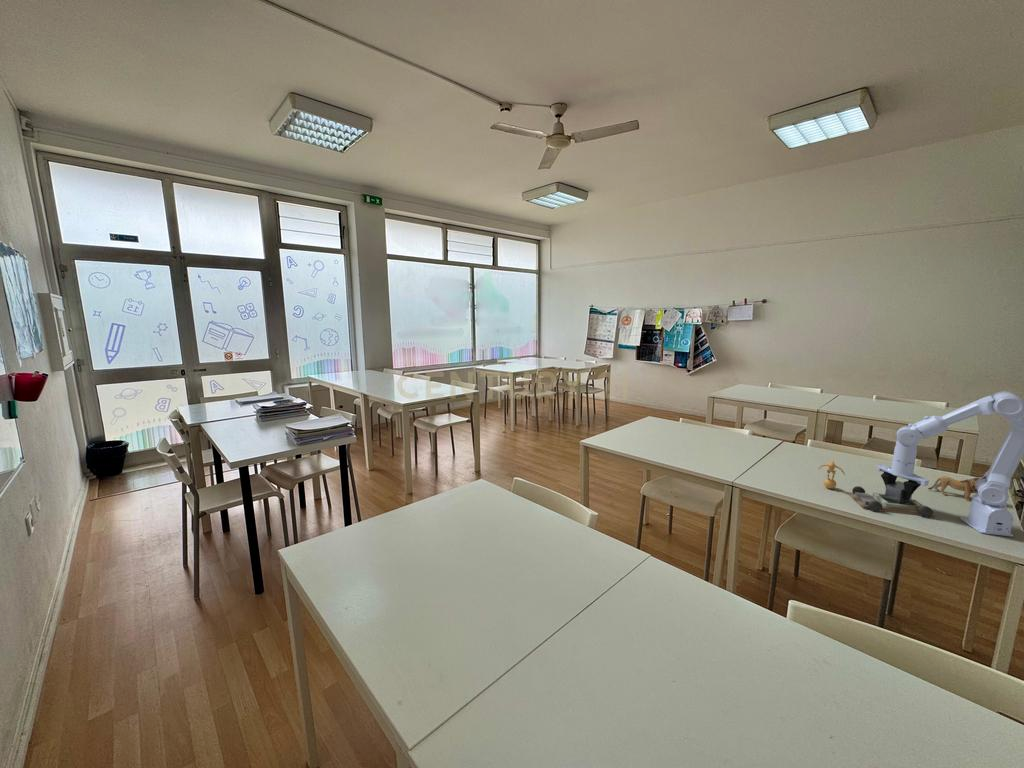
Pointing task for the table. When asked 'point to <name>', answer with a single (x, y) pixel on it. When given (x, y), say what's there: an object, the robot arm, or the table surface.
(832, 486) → the figurine
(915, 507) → the toy car chassis
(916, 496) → the table surface
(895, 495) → the brushed grey box
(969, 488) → the lion figurine
